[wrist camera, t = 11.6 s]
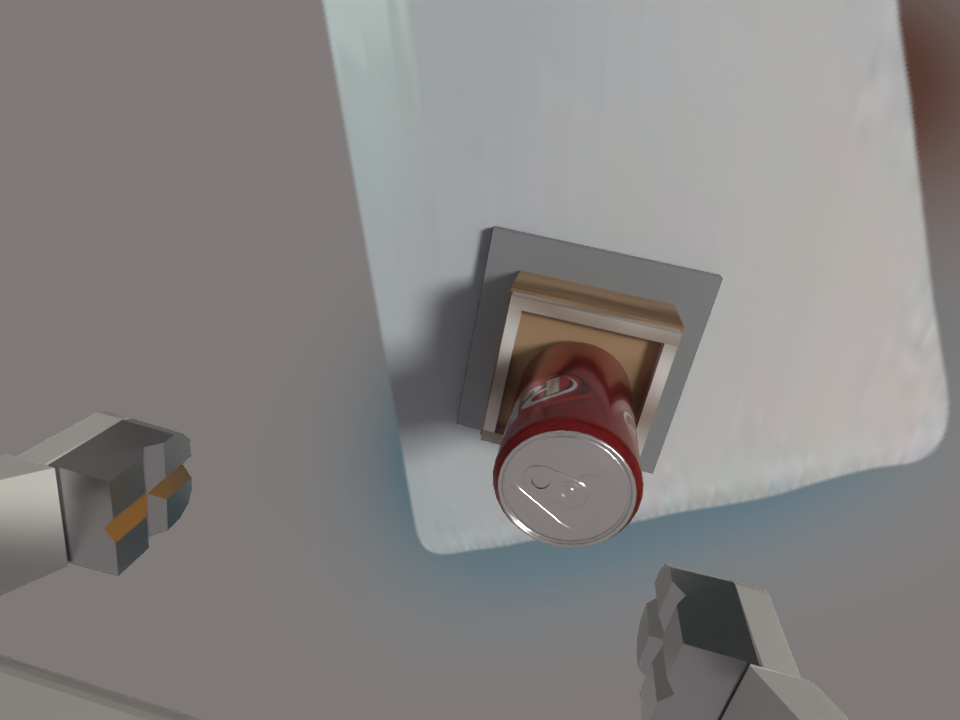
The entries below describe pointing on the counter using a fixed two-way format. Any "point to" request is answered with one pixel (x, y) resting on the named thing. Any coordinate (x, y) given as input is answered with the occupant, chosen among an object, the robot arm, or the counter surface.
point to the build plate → (598, 270)
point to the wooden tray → (583, 318)
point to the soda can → (570, 449)
